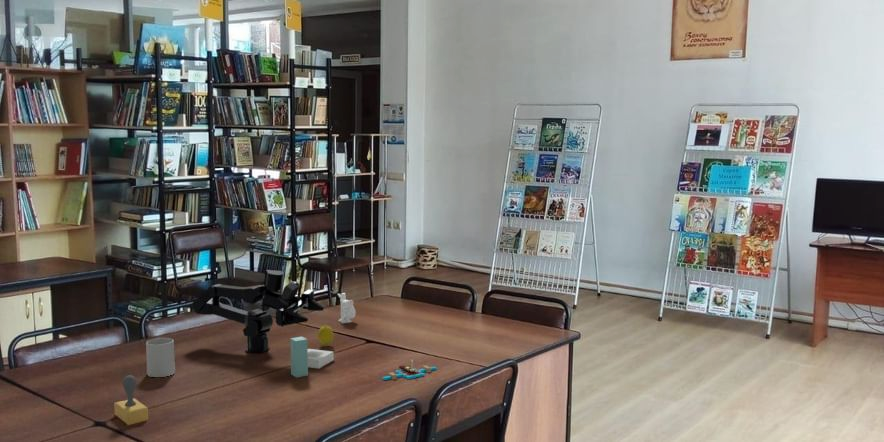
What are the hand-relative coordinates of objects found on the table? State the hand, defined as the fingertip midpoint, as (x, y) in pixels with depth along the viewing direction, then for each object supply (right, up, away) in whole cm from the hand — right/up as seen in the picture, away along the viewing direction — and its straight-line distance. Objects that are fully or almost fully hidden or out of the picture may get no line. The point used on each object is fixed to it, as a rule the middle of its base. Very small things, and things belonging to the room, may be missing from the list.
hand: (315, 314), depth 264 cm
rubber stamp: (-42, -22, -51) cm, 70 cm away
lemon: (+1, -14, +18) cm, 23 cm away
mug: (-49, -18, -13) cm, 53 cm away
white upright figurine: (+4, -10, +53) cm, 54 cm away
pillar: (-3, -18, -14) cm, 23 cm away
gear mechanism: (+33, -18, -13) cm, 40 cm away
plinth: (0, -16, -2) cm, 16 cm away
